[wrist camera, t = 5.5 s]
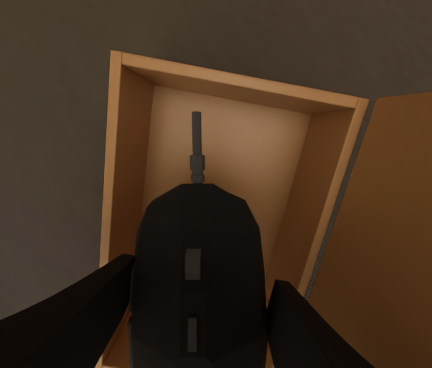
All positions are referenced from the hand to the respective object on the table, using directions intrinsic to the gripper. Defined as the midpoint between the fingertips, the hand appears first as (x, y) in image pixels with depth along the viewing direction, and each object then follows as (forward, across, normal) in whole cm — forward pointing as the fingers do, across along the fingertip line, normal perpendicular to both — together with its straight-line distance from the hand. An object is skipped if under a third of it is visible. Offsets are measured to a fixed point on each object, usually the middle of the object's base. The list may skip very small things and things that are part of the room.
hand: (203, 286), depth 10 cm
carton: (+8, 0, 0) cm, 8 cm away
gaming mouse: (+2, 0, 0) cm, 2 cm away
